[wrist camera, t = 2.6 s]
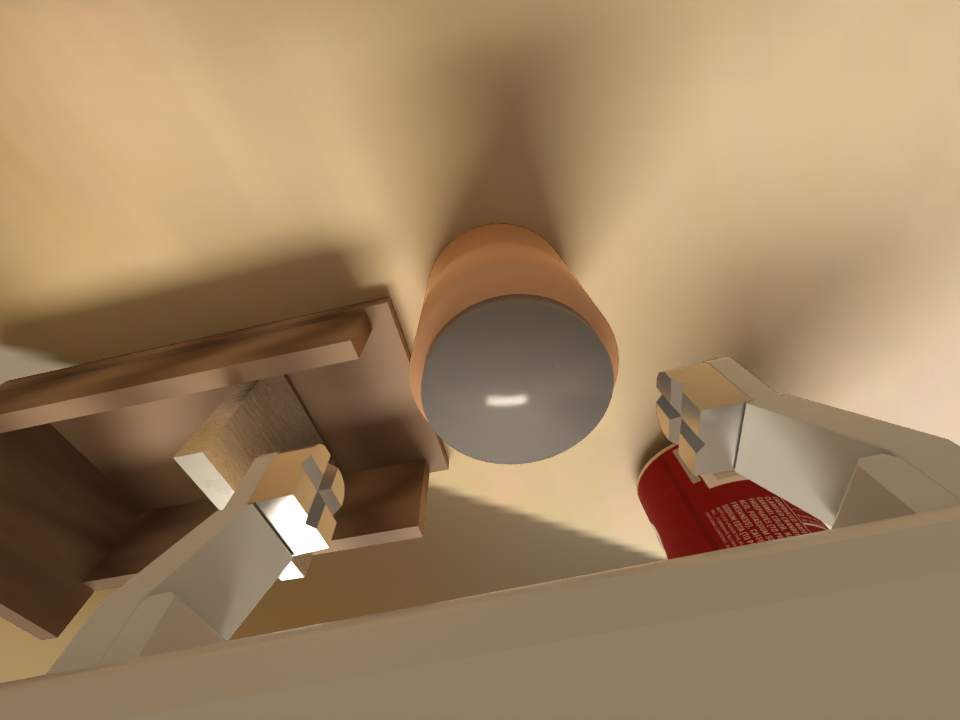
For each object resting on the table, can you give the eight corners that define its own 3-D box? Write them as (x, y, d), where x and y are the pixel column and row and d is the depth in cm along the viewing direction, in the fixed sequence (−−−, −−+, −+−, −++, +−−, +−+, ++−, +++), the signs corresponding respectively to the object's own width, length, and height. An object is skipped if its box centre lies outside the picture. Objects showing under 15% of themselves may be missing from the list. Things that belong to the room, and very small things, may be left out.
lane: (389, 297, 16) (350, 386, 11) (448, 461, 21) (443, 579, 16) (7, 381, 18) (-204, 498, 12) (148, 515, 23) (45, 642, 17)
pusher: (275, 360, 17) (202, 452, 12) (341, 473, 20) (304, 576, 16) (220, 372, 17) (126, 466, 12) (295, 481, 21) (245, 586, 16)
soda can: (663, 415, 20) (865, 709, 10) (774, 432, 21) (1065, 717, 11) (614, 499, 24) (728, 783, 13) (712, 511, 25) (889, 785, 14)
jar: (559, 207, 15) (627, 265, 9) (573, 341, 18) (630, 454, 12) (409, 242, 15) (372, 320, 9) (447, 366, 18) (439, 487, 12)
